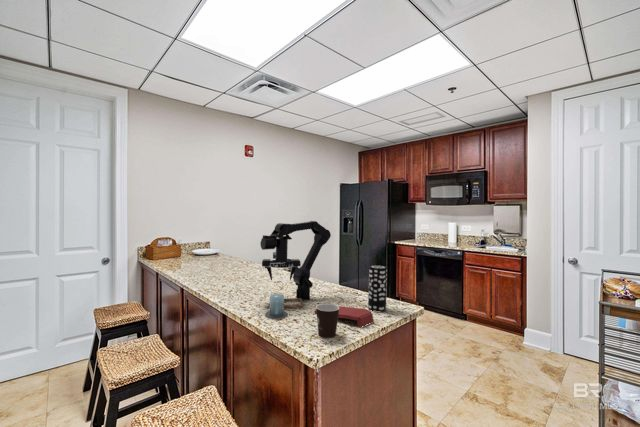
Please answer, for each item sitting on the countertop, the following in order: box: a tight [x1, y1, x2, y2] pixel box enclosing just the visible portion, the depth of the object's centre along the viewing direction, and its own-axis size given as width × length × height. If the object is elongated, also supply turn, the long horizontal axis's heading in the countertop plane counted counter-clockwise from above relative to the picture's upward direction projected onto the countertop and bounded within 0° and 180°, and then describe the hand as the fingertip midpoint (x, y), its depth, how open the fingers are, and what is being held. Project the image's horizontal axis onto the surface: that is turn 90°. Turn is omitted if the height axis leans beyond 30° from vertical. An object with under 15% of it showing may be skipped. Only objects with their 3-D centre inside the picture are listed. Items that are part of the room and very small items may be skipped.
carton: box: [314, 305, 374, 328], centre depth 128 cm, size 12×5×25 cm
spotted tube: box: [367, 264, 388, 312], centre depth 140 cm, size 8×8×20 cm
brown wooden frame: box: [284, 297, 304, 310], centre depth 144 cm, size 15×12×1 cm
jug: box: [269, 293, 285, 316], centre depth 128 cm, size 8×6×8 cm
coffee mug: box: [315, 303, 339, 339], centre depth 111 cm, size 12×9×10 cm
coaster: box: [264, 310, 289, 320], centre depth 129 cm, size 10×10×1 cm
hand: (280, 280), depth 147 cm, fingers open, 9 cm apart
